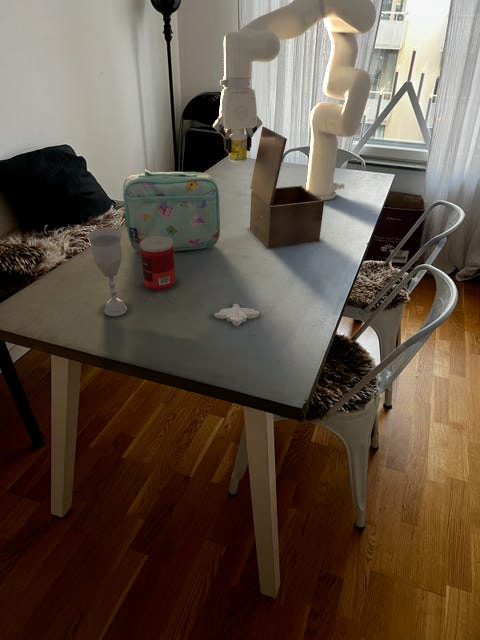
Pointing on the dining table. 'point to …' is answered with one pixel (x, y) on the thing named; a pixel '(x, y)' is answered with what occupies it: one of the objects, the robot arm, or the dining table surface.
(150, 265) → the canned food
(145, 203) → the lunch box
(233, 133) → the supplement bottle
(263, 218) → the chest
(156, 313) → the dining table surface
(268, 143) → the lid
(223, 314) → the acanthus leaf ornament
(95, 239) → the chalice
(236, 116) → the robot arm
